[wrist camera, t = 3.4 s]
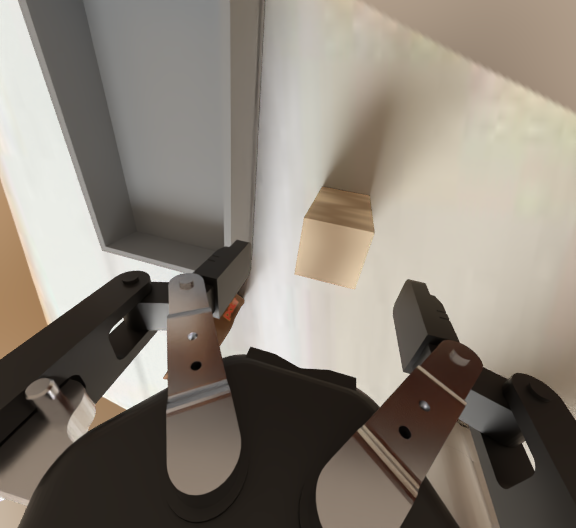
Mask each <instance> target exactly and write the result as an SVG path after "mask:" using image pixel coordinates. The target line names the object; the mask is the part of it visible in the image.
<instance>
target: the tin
mask: <svg viewBox="0 0 576 528" xmlns="http://www.w3.org/2000/svg"><path fill="white" fill-rule="evenodd" d="M243 304H244V299H243V298H242V297H241V296H239V295H238V294H236V295H235V297H234V298H233V300H232V301H231V303H230V304H229V306H228V307H227V308H226V310H225V311H224V313H223V314H222V316H221V317H220V319H218V318H214V317H213V319H214V323H215V328H216V333H217V337H218V342H219V346H220V345H221V343H222V342H223V340H224V339H225V337H226V336H227V334H228V333H229V331H230V329H231V327H232V325H233V322H234V319H235V317H236V315H237V313H238V311H239V310H240V308H241V306H242V305H243ZM163 379H167V380H168V371H167V373H166V374H165V376H164V377H163Z"/></svg>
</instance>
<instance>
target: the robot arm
mask: <svg viewBox="0 0 576 528" xmlns="http://www.w3.org/2000/svg"><path fill="white" fill-rule="evenodd" d="M251 250H252V245H251V243H250V242H246V241H241V240H236V241H235V242H234V243H233V244H232V245H231V246H230V247H227V246H225V247H223V248H220V249H218V250H217V251H216V252H214V253H213V254H212V256H210V257H209V258H208V260H206V261H205V262H204V263H203V264H202V265H201V266H200V267H198V268H197V269H196V270H195V271H194V272H193V273H185V274H180V275H177V276H175V277H174V278H172V279H171V280H170V282H151V280H150V276H149V274H148V273H146V272H143V271H129V272H125V273H122V274H120V275H118V276H116V277H115V278H114V279H112V280H111V281H109V282H108V283H107V284H105V285H104V286H102V287H101V288H100V289H98V290H97V291H95V292H94V293H93V294H91V295H90V296H88V297H87V298H86V299H84V300H83V301H81V302H80V303H79V304H77V305H76V306H74V307H73V308H72V309H70V310H69V311H67V312H66V313H65V314H63V315H62V316H60V317H59V318H58V319H56V320H55V321H53V322H52V323H51V324H49V325H48V326H47V327H45V328H44V329H42V330H41V331H40V332H38V333H37V334H35V335H34V336H33V337H31V338H30V339H28V340H27V341H26V342H24V343H23V344H22V345H20V346H19V347H17V348H16V349H14V350H13V351H12V352H10V353H9V354H7V355H6V356H5V357H3V358H2V359H0V501H2V500H5V499H8V500H11V501H14V502H18V503H20V504H24V505H27V508H26V510H25V513H24V515H23V518H22V520H21V522H20V524H19V526H18V528H576V420H575V419H574V417H573V416H572V414H571V413H570V411H569V410H568V408H567V407H566V405H565V404H564V402H563V401H562V399H561V398H560V397H559V396H558V395H557V394H556V393H555V392H554V391H553V390H552V389H551V388H550V387H549V386H547V385H546V384H544V383H543V382H541V381H540V380H538V379H536V378H534V377H532V376H529V375H527V374H522V373H516V374H514V375H512V376H511V377H510V378H509V379H506V378H504V377H502V376H500V375H498V374H496V373H494V372H492V371H490V370H488V369H486V368H484V367H483V364H482V361H481V360H480V358H479V357H478V356H477V354H476V353H475V352H474V351H472V350H471V349H470V348H468V347H467V346H465V345H463V344H461V343H460V342H459V340H458V337H457V335H456V333H455V331H454V329H453V326H452V324H451V322H450V321H449V318H448V315H447V314H446V311H445V309H444V307H443V305H442V303H441V302H440V301H439V300H438V299H437V298H436V297H435V296H433V295H430V293H429V291H428V288H427V286H426V284H425V283H422V282H418V281H414V280H409V279H408V280H407V281H406V282H405V284H404V286H403V288H402V290H401V292H400V294H399V296H398V298H397V300H396V302H395V305H394V308H393V318H394V324H395V329H396V335H397V340H398V346H399V351H400V357H401V362H402V368H403V372H405V373H409V374H410V375H409V376H408V377H407V378H406V379H405V380H404V381H403V383H402V384H401V385H400V386H399V387H398V388H397V389H396V390H395V391H394V392H393V394H392V395H391V396H390V397H389V398H388V399H387V400H386V401H385V402H384V403H383V405H382V406H381V407H379V406H378V405H377V404H376V403H375V402H374V401H373V400H372V399H371V398H370V397H369V396H368V395H367V394H365V393H364V392H362V391H361V390H359V389H358V388H356V378H354V377H351V376H348V375H344V374H341V373H337V372H334V371H331V370H320V369H303V368H299V367H297V366H295V365H293V364H292V363H290V362H288V361H286V360H285V359H283V358H281V357H279V356H278V355H276V354H273V353H270V352H266V351H263V350H260V349H256V348H253V347H250V349H249V351H248V353H247V355H245V354H242V355H233V356H228V357H225V358H222V355H221V351H220V346H219V342H218V337H217V333H216V328H215V323H214V319H213V317H214V318H218V319H220V317H221V316H222V314H223V313H224V311H225V310H226V308H227V307H228V306H229V304H230V303H231V301H232V300H233V298H234V297H235V295H236V294H237V292H238V291H239V290H240V288H241V287H242V285H243V284H244V282H245V281H246V279H247V278H248V276H249V273H250V269H251ZM122 318H124V321H123V322H122V323H121V324H120V325H119V326H117V327H116V328H115V329H114V330H113V331H112V332H111V333H110V331H111V329H112V328H113V327H114V325H116V324H117V323H118V322H119V321H120V320H121V319H122ZM158 330H167V364H168V388H166V389H164V390H162V391H160V392H159V393H157V394H155V395H153V396H151V397H150V398H148V399H146V400H144V401H142V402H140V403H139V404H137V405H135V406H133V407H131V408H129V409H128V410H126V411H124V412H122V413H120V414H119V415H117V416H115V417H113V418H111V419H109V420H108V421H106V422H104V423H102V424H100V425H98V426H97V427H95V428H93V429H92V430H90V431H88V427H89V426H90V424H91V423H92V421H93V419H94V416H95V412H96V408H95V404H96V403H97V401H98V400H99V399H100V398H101V397H102V396H103V395H104V393H105V392H106V391H107V390H108V389H109V387H110V386H111V385H112V384H113V383H114V382H115V380H116V379H117V378H118V377H119V376H120V375H121V373H122V372H123V371H124V370H125V369H126V367H127V366H128V365H129V364H130V363H131V362H132V360H133V359H134V358H135V357H136V356H137V355H138V353H139V352H140V351H141V350H142V349H143V347H144V346H145V345H146V344H147V343H148V342H149V340H150V339H151V338H152V337H153V336H154V335H155V333H156V332H157V331H158ZM109 333H110V334H109ZM458 419H459V420H461V421H463V422H464V423H466V424H468V425H469V428H470V429H469V428H466V427H463V426H461V425H460V424H459V423H458V422H457V420H458ZM524 441H526V443H527V445H528V447H529V449H530V451H531V453H532V455H533V458H534V461H535V471H534V469H533V467H532V465H531V462H530V460H529V458H528V456H527V454H526V451H525V449H524V447H523V445H522V443H523V442H524Z"/></svg>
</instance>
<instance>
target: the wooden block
mask: <svg viewBox="0 0 576 528" xmlns="http://www.w3.org/2000/svg"><path fill="white" fill-rule="evenodd" d="M374 233H375V232H374V224H373V217H372V209H371V202H370V196H369V195H364V194H359V193H353V192H348V191H343V190H338V189H333V188H328V187H322V188H321V190H320V191H319V193H318V195H317V196H316V198H315V200H314V202H313V203H312V205H311V207H310V208H309V210H308V212H307V213H306V215H305V217H304V221H303V227H302V233H301V239H300V244H299V250H298V256H297V262H296V268H295V274H296V275H299V276H303V277H307V278H311V279H315V280H319V281H323V282H327V283H331V284H335V285H339V286H343V287H347V288H351V289H355V287H356V284H357V282H358V279H359V276H360V273H361V270H362V267H363V264H364V262H365V259H366V256H367V253H368V250H369V247H370V245H371V242H372V239H373V236H374Z"/></svg>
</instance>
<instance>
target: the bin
mask: <svg viewBox="0 0 576 528" xmlns="http://www.w3.org/2000/svg"><path fill="white" fill-rule="evenodd" d="M18 2H19V5H20V8H21V11H22V14H23V17H24V20H25V23H26V26H27V29H28V32H29V35H30V38H31V40H32V43H33V46H34V49H35V52H36V55H37V58H38V61H39V64H40V67H41V70H42V73H43V76H44V79H45V82H46V85H47V88H48V91H49V94H50V97H51V100H52V103H53V106H54V109H55V112H56V115H57V118H58V121H59V124H60V127H61V130H62V133H63V136H64V139H65V142H66V145H67V148H68V151H69V153H70V156H71V159H72V162H73V165H74V168H75V171H76V174H77V177H78V180H79V183H80V186H81V189H82V192H83V195H84V198H85V201H86V204H87V207H88V210H89V213H90V216H91V219H92V222H93V225H94V228H95V231H96V234H97V237H98V240H99V243H100V246H101V249H102V251H106V252H109V253H113V254H117V255H120V256H124V257H128V258H132V259H135V260H139V261H143V262H146V263H150V264H154V265H157V266H161V267H165V268H168V269H172V270H176V271H179V272H183V273H193V272H194V271H195V270H196V269H197V268H198V267H200V266H201V265H202V264H203V263H204V262H205V261H206V260H208V258H209V257H210V256H212V254H213V253H214V252H216V251H217V250H218V249H220V248H223V247H225V246H227V247H230V246H231V245H232V244H233V243H234V242H235V241H236V240H241V241H246V242H250V243H251V245H252V244H253V224H254V205H255V185H256V166H257V147H258V127H259V108H260V88H261V69H262V49H263V30H264V10H265V0H18ZM251 260H252V250H251Z"/></svg>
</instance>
